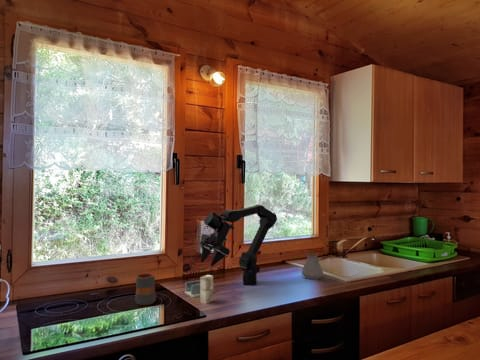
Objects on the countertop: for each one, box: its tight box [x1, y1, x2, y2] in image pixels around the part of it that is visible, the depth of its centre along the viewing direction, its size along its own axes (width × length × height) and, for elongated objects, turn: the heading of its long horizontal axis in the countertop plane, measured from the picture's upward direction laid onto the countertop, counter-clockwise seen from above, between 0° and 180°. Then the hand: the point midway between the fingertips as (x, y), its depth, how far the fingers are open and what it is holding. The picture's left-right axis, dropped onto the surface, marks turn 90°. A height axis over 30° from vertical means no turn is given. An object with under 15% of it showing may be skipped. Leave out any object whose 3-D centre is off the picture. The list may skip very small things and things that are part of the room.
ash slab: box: [199, 274, 214, 305], centre depth 165 cm, size 5×3×11 cm, turn 143°
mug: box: [134, 273, 157, 306], centre depth 165 cm, size 9×12×12 cm
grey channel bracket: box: [184, 279, 200, 298], centre depth 177 cm, size 10×8×5 cm
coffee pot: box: [301, 252, 335, 281], centre depth 198 cm, size 21×12×15 cm, turn 29°
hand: (206, 264), depth 177 cm, fingers open, 9 cm apart
